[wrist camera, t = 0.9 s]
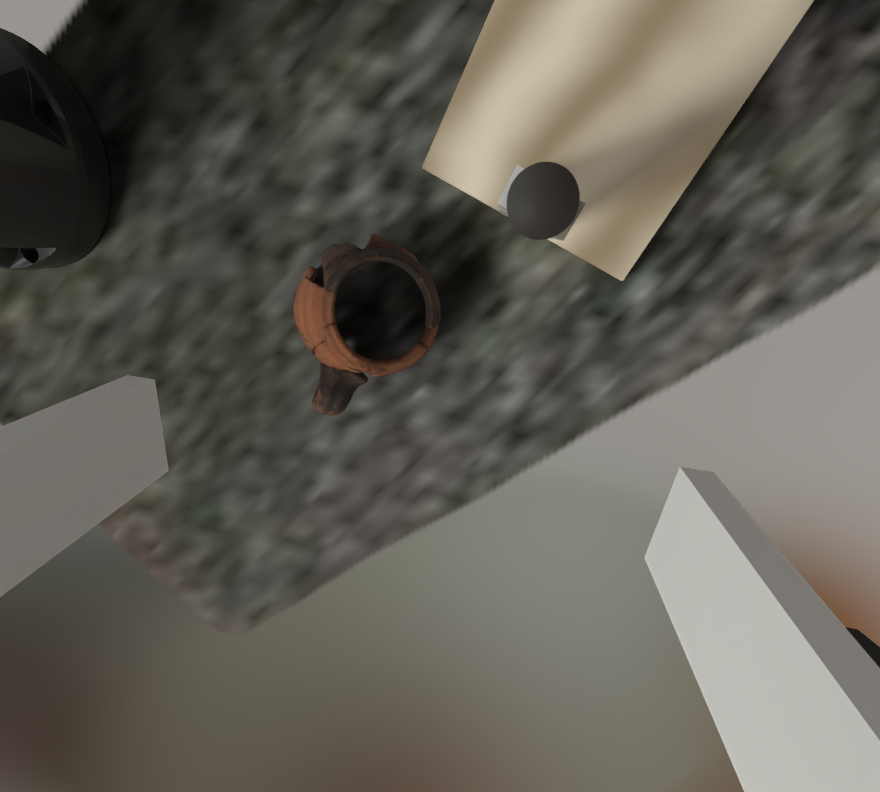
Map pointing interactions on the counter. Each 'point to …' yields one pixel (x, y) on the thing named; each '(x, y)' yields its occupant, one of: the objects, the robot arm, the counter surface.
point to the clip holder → (601, 112)
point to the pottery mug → (322, 332)
